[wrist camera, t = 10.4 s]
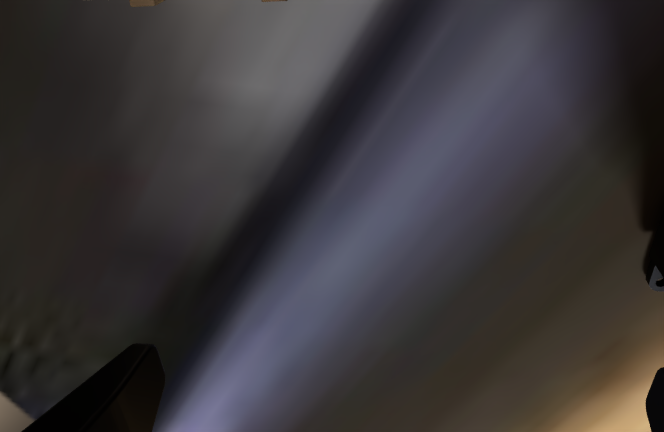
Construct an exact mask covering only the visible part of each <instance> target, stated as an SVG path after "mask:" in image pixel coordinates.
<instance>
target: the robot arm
mask: <svg viewBox="0 0 664 432" xmlns="http://www.w3.org/2000/svg"><path fill="white" fill-rule="evenodd" d="M650 258H651V262H650V265H649V269H648V272H647V275H646V281H647V283H648V284H649V286H650V288H651V289H653V290H655V291H664V211H663V214H662V217H661V220H660V223H659V227H658V230H657V233H656V236H655V239H654V242H653V245H652V248H651V251H650ZM660 278H663V279H662V280H660V281H657V280H658V279H660ZM164 385H165V371H164V368H163V365H162V362H161V359H160V356H159V353H158V350H157V348H156V347H155V346H154V345H153V344H140V343H136V344H132V345H130V346H129V347H128V348H126V349H125V350H124V351H123V352H121V353H120V354H119V355H118V356H116V357H115V358H114V359H113V360H111V361H110V362H109V363H107V364H106V365H105V366H104V367H102V368H101V369H100V370H99V371H97V372H96V373H95V374H94V375H92V376H91V377H90V378H89V379H87V380H86V381H85V382H83V383H82V384H81V385H80V386H78V387H77V388H76V389H75V390H73V391H72V392H71V393H70V394H68V395H67V396H66V397H65V398H63V399H62V400H61V401H59V402H58V403H57V404H56V405H54V406H53V407H52V408H51V409H49V410H48V411H47V412H46V413H44V414H43V415H42V416H41V417H39V418H38V419H37V420H35V421H34V422H33V423H32V424H30V425H29V426H28V427H27V428H25V429H24V430H23V431H22V432H152V429H153V425H154V422H155V418H156V414H157V411H158V407H159V404H160V400H161V396H162V393H163V389H164ZM646 412H647V416H648V420H649V424H650V427H651V431H652V432H664V367H663V368H660V369H659V370H658V371H657V373H656V375H655V377H654V380H653V382H652V385H651V387H650V390H649V393H648V395H647V398H646Z"/></svg>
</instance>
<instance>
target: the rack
mask: <svg viewBox="0 0 664 432" xmlns="http://www.w3.org/2000/svg"><path fill="white" fill-rule="evenodd" d="M129 1H130V5H131V7H137V6H155V5H157V4H159V3H161V2H163V1H165V0H129ZM270 1H287V0H262V2H270Z"/></svg>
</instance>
